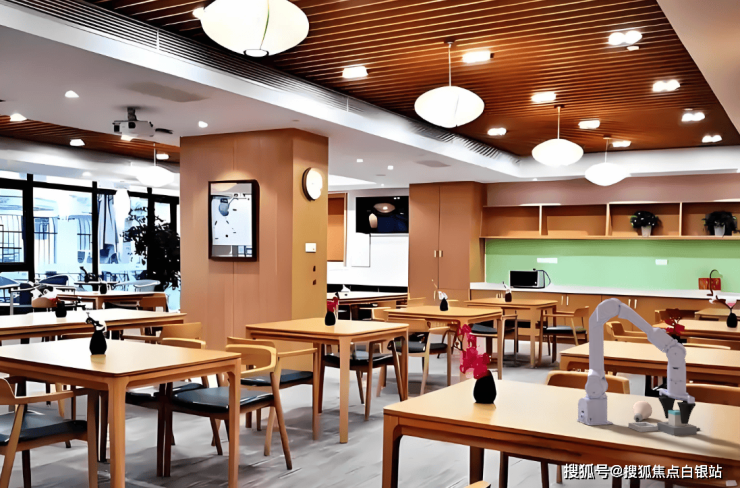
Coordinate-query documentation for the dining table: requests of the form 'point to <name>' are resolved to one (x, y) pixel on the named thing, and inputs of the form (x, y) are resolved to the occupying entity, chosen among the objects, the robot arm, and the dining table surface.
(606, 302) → the robot arm
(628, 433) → the dining table surface
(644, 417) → the light bulb
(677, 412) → the plug
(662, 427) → the panel
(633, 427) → the tray
